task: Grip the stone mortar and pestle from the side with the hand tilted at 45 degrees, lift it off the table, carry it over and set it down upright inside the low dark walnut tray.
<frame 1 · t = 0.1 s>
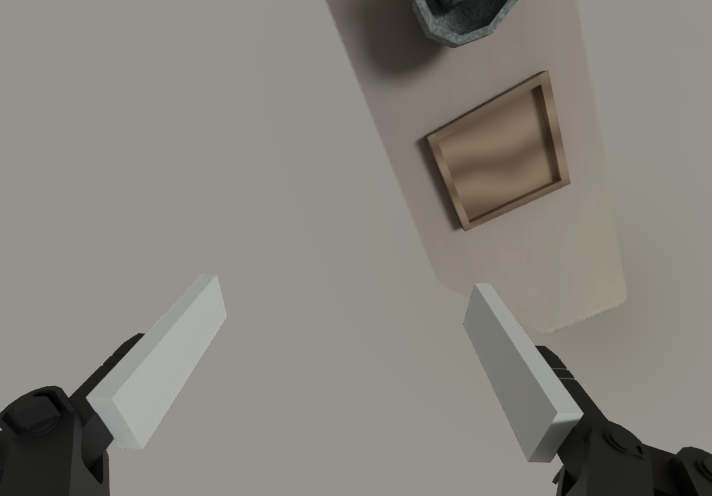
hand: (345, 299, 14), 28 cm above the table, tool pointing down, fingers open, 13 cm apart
walnut tray: (496, 159, 38), on the table
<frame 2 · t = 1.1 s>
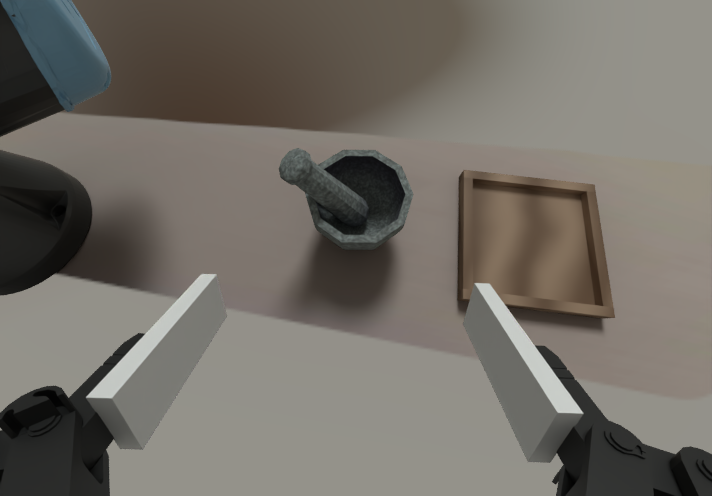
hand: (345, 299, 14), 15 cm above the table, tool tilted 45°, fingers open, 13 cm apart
walnut tray: (524, 242, 31), on the table
mortar and pestle: (351, 223, 32), on the table
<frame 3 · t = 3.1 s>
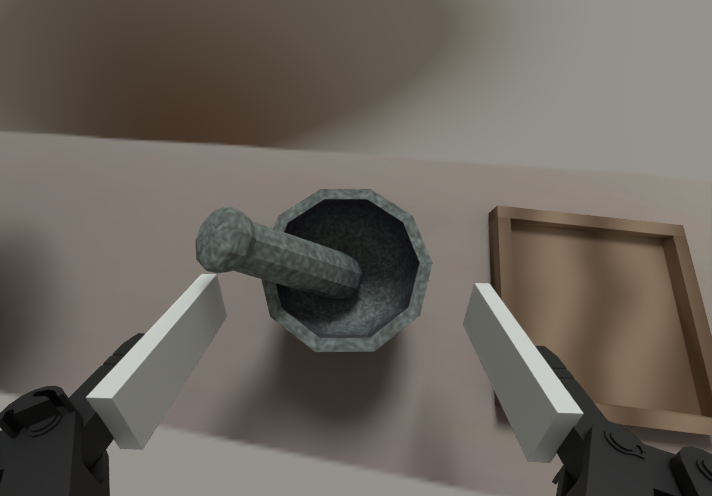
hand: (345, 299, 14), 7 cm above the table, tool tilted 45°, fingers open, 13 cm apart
walnut tray: (587, 310, 22), on the table
mortar and pestle: (339, 284, 22), on the table
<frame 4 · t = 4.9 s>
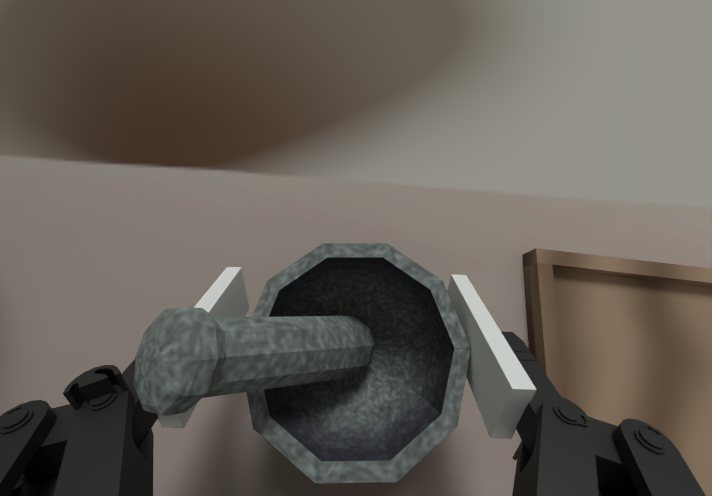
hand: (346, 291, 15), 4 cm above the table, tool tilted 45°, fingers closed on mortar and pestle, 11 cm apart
walnut tray: (647, 378, 18), on the table
mortar and pestle: (343, 343, 18), on the table, touching gripper
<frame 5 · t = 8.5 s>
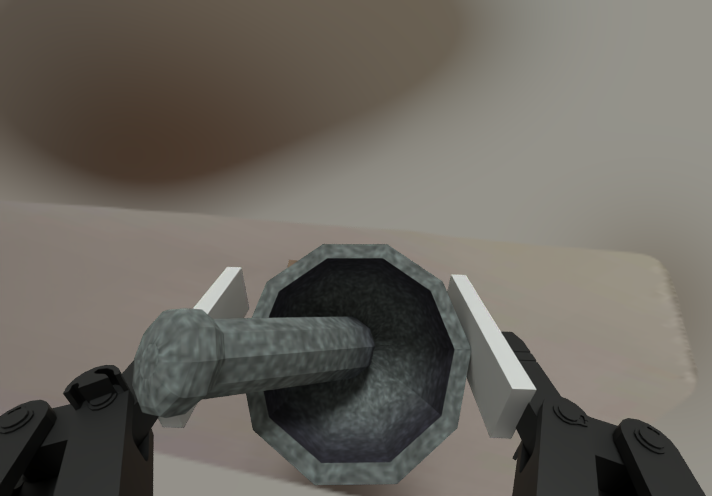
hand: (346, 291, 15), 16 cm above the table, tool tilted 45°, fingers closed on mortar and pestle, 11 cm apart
mortar and pestle: (343, 344, 18), point 11 cm above the table, touching gripper
when the fingers open (6 cm above the table, at t = 11.7 s): mortar and pestle drops 1 cm, resting on walnut tray.
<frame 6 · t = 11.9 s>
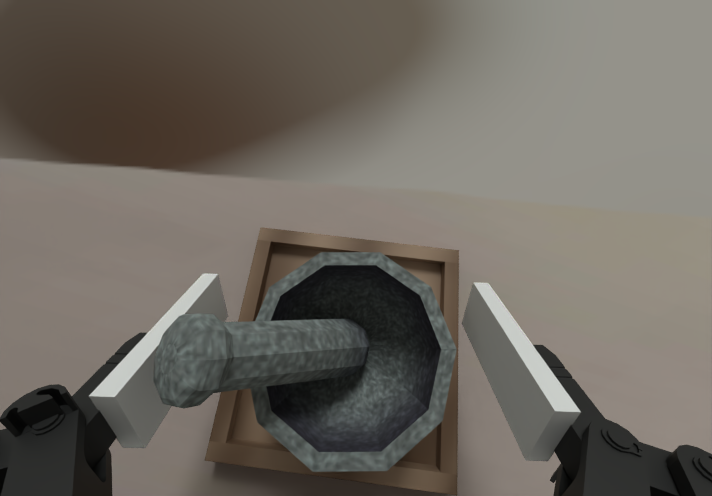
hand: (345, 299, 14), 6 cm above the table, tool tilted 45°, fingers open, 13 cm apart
walnut tray: (346, 342, 20), on the table
mortar and pestle: (341, 344, 19), resting on walnut tray
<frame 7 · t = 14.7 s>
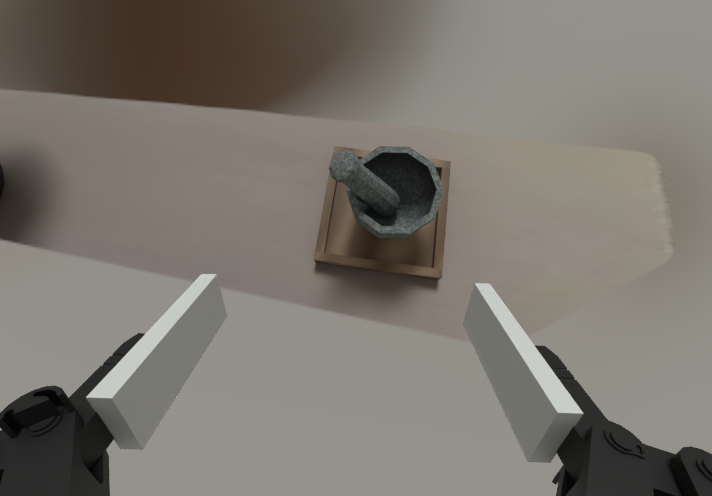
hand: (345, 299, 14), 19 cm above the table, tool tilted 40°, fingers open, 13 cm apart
walnut tray: (383, 212, 35), on the table
mortar and pestle: (381, 212, 35), resting on walnut tray
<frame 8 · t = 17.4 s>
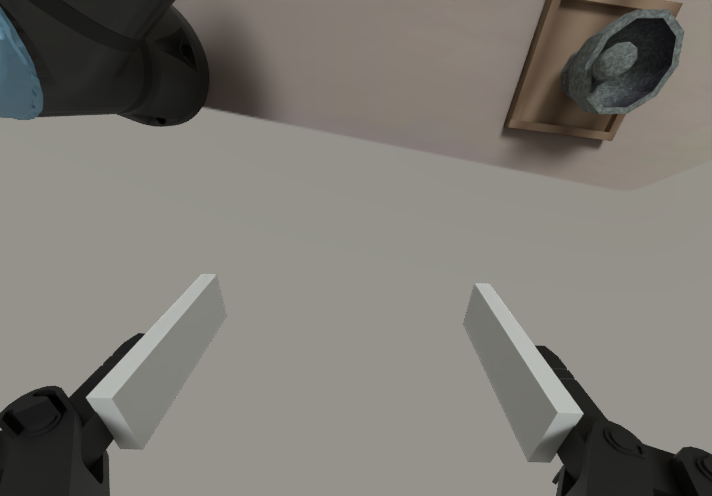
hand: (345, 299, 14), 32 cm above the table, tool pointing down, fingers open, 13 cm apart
walnut tray: (579, 72, 36), on the table
mortar and pestle: (578, 72, 36), resting on walnut tray
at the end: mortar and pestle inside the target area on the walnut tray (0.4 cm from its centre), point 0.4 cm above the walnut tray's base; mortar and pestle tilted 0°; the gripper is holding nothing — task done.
